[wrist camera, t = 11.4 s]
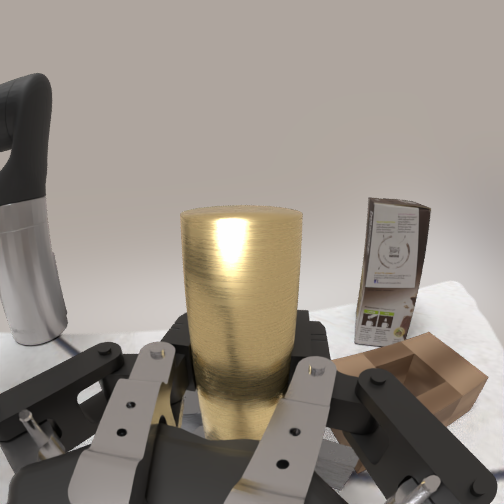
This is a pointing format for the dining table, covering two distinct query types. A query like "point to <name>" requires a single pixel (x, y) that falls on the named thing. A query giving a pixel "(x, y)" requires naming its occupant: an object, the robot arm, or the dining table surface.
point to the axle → (241, 312)
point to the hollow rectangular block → (422, 376)
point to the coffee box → (390, 270)
